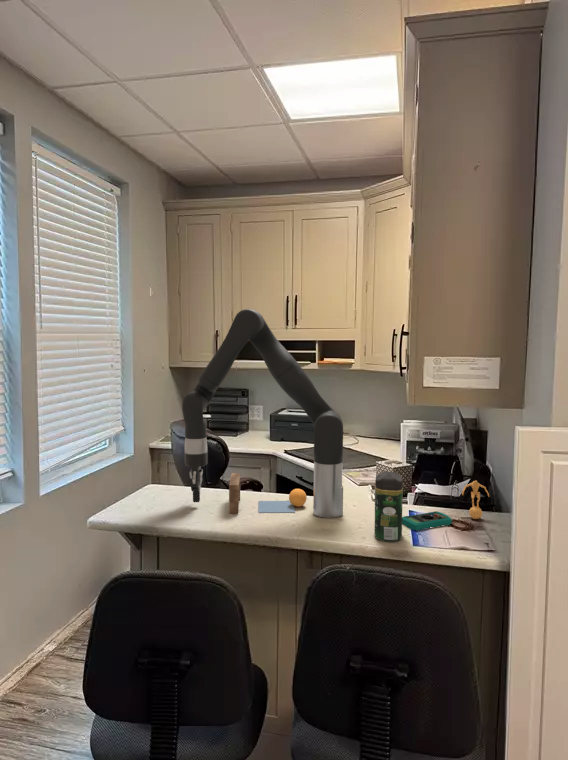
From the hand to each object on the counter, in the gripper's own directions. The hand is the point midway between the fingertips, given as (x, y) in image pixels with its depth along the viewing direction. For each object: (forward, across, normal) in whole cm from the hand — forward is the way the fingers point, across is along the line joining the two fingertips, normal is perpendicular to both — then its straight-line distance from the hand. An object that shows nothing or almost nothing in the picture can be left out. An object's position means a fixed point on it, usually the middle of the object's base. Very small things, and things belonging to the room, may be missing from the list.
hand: (196, 501), depth 174 cm
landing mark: (+2, 0, -27) cm, 27 cm away
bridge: (+2, 0, -13) cm, 13 cm away
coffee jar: (+2, -27, -58) cm, 64 cm away
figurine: (+3, -12, -90) cm, 91 cm away
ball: (-1, 0, -34) cm, 34 cm away
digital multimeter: (+3, -17, -73) cm, 75 cm away
